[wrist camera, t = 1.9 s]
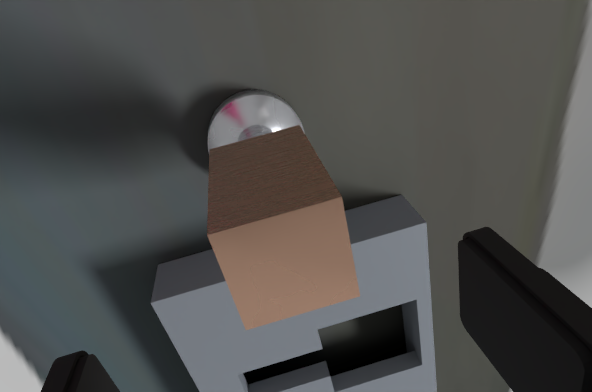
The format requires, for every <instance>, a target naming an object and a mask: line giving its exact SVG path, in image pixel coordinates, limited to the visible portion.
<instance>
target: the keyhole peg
mask: <svg viewBox="0 0 592 392" xmlns="http://www.w3.org/2000/svg"><path fill="white" fill-rule="evenodd" d="M208 152H209V187H208V225H207V236H208V238H209V241H210V243H211V246H212V248H213V251H214V253H215V256H216V258H217V261H218V263H219V265H220V268H221V270H222V273H223V275H224V278H225V280H226V283H227V285H228V288H229V290H230V293H231V295H232V297H233V300H234V302H235V305H236V307H237V310H238V312H239V315H240V317H241V320H242V322H243V325H244V327H245V329H246V330H249V329H253V328H256V327H259V326H263V325H266V324H269V323H273V322H276V321H279V320H283V319H286V318H289V317H293V316H296V315H299V314H303V313H306V312H309V311H313V310H316V309H319V308H323V307H326V306H329V305H333V304H336V303H339V302H343V301H346V300H350V299H353V298H356V297H360V292H359V287H358V281H357V276H356V270H355V265H354V259H353V254H352V249H351V243H350V238H349V232H348V227H347V221H346V216H345V211H344V205H343V200H342V196H341V194H340V193H339V191H338V189H337V188H336V186H335V184H334V183H333V181H332V179H331V178H330V176H329V174H328V172H327V171H326V169H325V167H324V166H323V164H322V162H321V161H320V159H319V157H318V156H317V154H316V152H315V151H314V149H313V147H312V145H311V144H310V142H309V140H308V139H307V137H306V135H305V133H304V129H303V126H302V123H301V121H300V119H299V118H298V116H297V114H296V113H295V111H294V110H293V108H292V107H291V106H290V104H289V103H288V102H286V101H285V100H284V99H283V98H281V97H280V96H278V95H276V94H274V93H271V92H269V91H264V90H246V91H241V92H238V93H236V94H234V95H232V96H230V97H228V98H227V99H225V100H224V101H223V102H222V103H221V104H220V105H219V106H218V107H217V109H216V110H215V112H214V113H213V115H212V117H211V120H210V123H209V128H208Z"/></svg>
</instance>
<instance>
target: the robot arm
mask: <svg viewBox="0 0 592 392" xmlns="http://www.w3.org/2000/svg"><path fill="white" fill-rule="evenodd" d="M458 261H459V293H460V317H461V321H462V323H463V325H464V327H465V329H466V330H467V332H468V333H469V334H470V336H471V337H472V338H473V340H474V341H475V342H476V344H477V345H478V346H479V347H480V349H481V350H482V351H483V353H484V354H485V355H486V357H487V358H488V359H489V361H490V362H491V363H492V364H493V366H494V367H495V368H496V370H497V371H498V372H499V374H500V375H501V376H502V378H503V379H504V380H505V381H506V383H507V384H508V385H509V387H510V388H511V389H512V391H513V392H592V308H591V307H589V306H588V305H587V304H585V302H583V301H582V300H581V299H580V298H578V297H577V296H576V295H575V294H573V293H572V292H571V291H570V290H568V289H567V288H566V287H565V286H564V285H563V284H561V283H560V282H559V281H558V280H557V279H555V278H554V277H553V276H552V275H550V274H549V273H548V272H546V271H545V270H543V269H541V268H538V267H537V266H535V265H534V264H533V263H532V262H531V261H529V260H528V259H527V258H526V257H525V256H523V255H522V254H521V253H520V252H519V251H517V250H516V249H515V248H514V247H513V246H511V245H510V244H509V243H508V242H507V241H505V240H504V239H503V238H502V237H501V236H499V235H498V234H497V233H496V232H495V231H493V230H492V229H491V228H489V227H484V228H480V229H477V230H474V231H471V232H467V233H465V234H464V236H463V240H461V241H459V243H458ZM41 392H120V391H119V389H118V388H117V386H116V385H115V384H114V382H113V381H112V379H111V378H110V376H109V375H108V373H107V372H106V370H105V369H104V367H103V366H102V365H101V363H100V362H99V360H98V359H97V357H96V356H95V355H93V354H90V355H88V353H87V352H85V351H79V352H75V353H72V354H69V355H66V356H62V357H59V358H57V359H56V360H55V361H54V363H53V364H52V367H51V369H50V371H49V374H48V376H47V378H46V381H45V383H44V385H43V387H42V390H41Z"/></svg>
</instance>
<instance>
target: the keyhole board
mask: <svg viewBox="0 0 592 392" xmlns="http://www.w3.org/2000/svg"><path fill="white" fill-rule="evenodd" d="M345 216H346V221H347V227H348V232H349V238H350V243H351V249H352V254H353V259H354V265H355V270H356V276H357V281H358V287H359V292H360V297H356V298H353V299H350V300H346V301H343V302H339V303H336V304H333V305H329V306H326V307H323V308H319V309H316V310H313V311H309V312H306V313H303V314H299V315H296V316H293V317H289V318H286V319H283V320H279V321H276V322H273V323H269V324H266V325H263V326H259V327H256V328H253V329H249V330H246V329H245V327H244V325H243V322H242V320H241V317H240V315H239V312H238V310H237V307H236V305H235V302H234V300H233V297H232V295H231V293H230V290H229V288H228V285H227V283H226V280H225V278H224V275H223V273H222V270H221V268H220V265H219V263H218V261H217V258H216V256H215V253H214V251H213V249H211V250H207V251H204V252H200V253H197V254H193V255H190V256H186V257H183V258H179V259H176V260H172V261H169V262H165V263H162V264H158V267H157V272H156V277H155V283H154V288H153V293H152V298H151V305H152V307H153V308H154V310H155V312H156V314H157V316H158V317H159V319H160V321H161V323H162V325H163V326H164V328H165V330H166V332H167V334H168V335H169V337H170V339H171V341H172V343H173V344H174V346H175V348H176V350H177V352H178V353H179V355H180V357H181V359H182V361H183V363H184V364H185V366H186V368H187V370H188V372H189V373H190V375H191V377H192V379H193V381H194V382H195V384H196V386H197V388H198V390H199V391H200V392H437V386H436V370H435V354H434V338H433V322H432V306H431V290H430V273H429V257H428V241H427V225H426V221H425V220H424V219H423V218H422V217H421V216H420V215H419V214H418V212H417V211H416V210H415V209H414V208H413V207H412V206H411V204H410V203H409V202H408V201H407V200H406V199H405V198H404V196H403V195H399V196H395V197H392V198H388V199H385V200H381V201H378V202H374V203H371V204H367V205H364V206H360V207H357V208H353V209H350V210H346V211H345ZM400 304H401V305H402V314H403V323H404V331H405V340H406V349H407V353H406V354H402V355H399V356H396V357H393V358H389V359H386V360H383V361H380V362H377V363H373V364H370V365H367V366H364V367H360V368H357V369H354V370H351V371H347V372H344V373H341V374H338V375H334V376H331V377H330V374H329V370H328V367H327V364H326V361H323V362H320V363H317V364H314V365H310V366H307V367H304V368H300V369H297V370H294V371H291V372H287V373H284V374H281V375H278V376H274V377H271V378H268V379H265V380H261V381H258V382H255V383H252V384H247V381H246V379H245V377H244V375H243V373H245V372H248V371H252V370H255V369H258V368H261V367H265V366H268V365H271V364H275V363H278V362H281V361H284V360H288V359H291V358H294V357H298V356H301V355H304V354H307V353H311V352H314V351H317V350H321V349H323V348H322V344H321V341H320V337H319V333H318V330H317V329H321V328H324V327H327V326H331V325H334V324H337V323H341V322H344V321H347V320H351V319H354V318H357V317H361V316H364V315H367V314H370V313H374V312H377V311H380V310H384V309H387V308H390V307H394V306H397V305H400Z"/></svg>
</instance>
